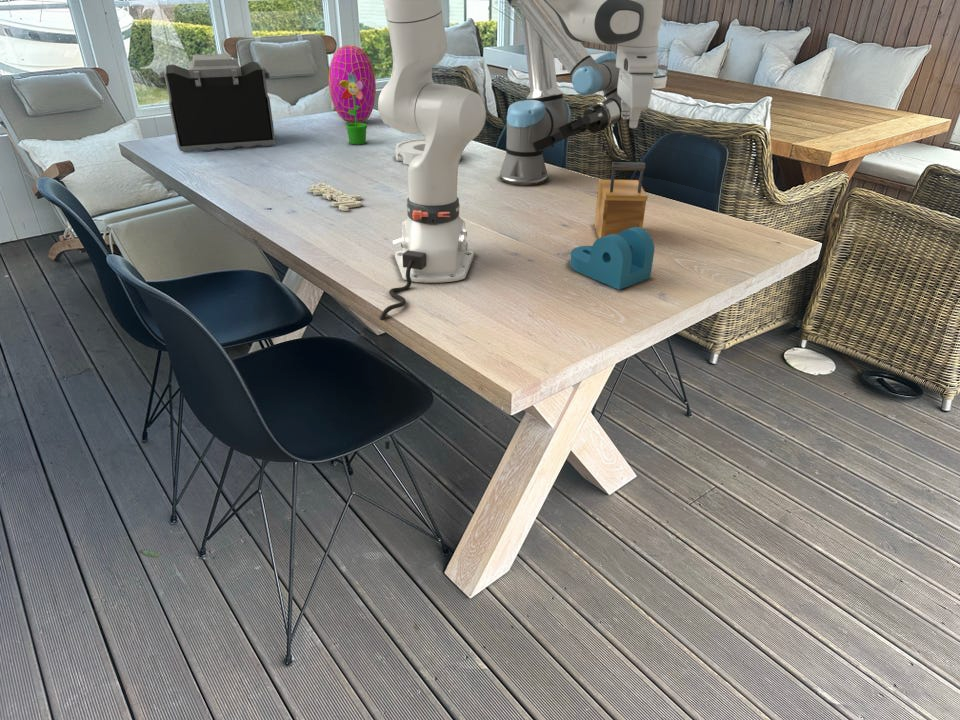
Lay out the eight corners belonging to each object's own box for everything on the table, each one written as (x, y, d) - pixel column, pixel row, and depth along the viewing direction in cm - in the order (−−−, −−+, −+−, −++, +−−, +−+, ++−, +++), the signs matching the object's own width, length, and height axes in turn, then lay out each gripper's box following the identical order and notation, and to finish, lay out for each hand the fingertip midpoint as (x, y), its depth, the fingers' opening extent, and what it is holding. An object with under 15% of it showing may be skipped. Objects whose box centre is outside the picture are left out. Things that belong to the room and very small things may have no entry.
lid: (647, 201, 167) (651, 165, 163) (605, 200, 167) (609, 165, 163) (637, 184, 179) (641, 151, 174) (598, 184, 179) (601, 150, 175)
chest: (640, 243, 173) (646, 200, 168) (600, 242, 174) (604, 199, 168) (632, 226, 184) (637, 185, 179) (594, 225, 185) (598, 184, 179)
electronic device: (273, 133, 274) (261, 51, 258) (280, 146, 256) (268, 58, 241) (174, 140, 262) (156, 54, 247) (174, 153, 244) (155, 62, 229)
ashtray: (454, 167, 232) (454, 155, 230) (388, 164, 235) (387, 152, 233) (466, 151, 252) (466, 140, 250) (404, 148, 255) (404, 137, 253)
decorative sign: (374, 202, 196) (343, 208, 191) (374, 205, 197) (343, 211, 191) (331, 180, 214) (301, 186, 209) (332, 183, 215) (302, 189, 209)
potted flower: (342, 144, 260) (336, 73, 247) (351, 139, 266) (346, 70, 254) (365, 146, 257) (360, 74, 245) (374, 141, 264) (369, 71, 251)
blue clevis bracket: (650, 277, 154) (656, 233, 149) (619, 289, 148) (624, 243, 143) (591, 254, 166) (595, 212, 161) (560, 264, 160) (563, 221, 155)
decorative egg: (362, 116, 305) (357, 42, 290) (386, 123, 292) (382, 46, 277) (324, 121, 294) (316, 45, 279) (347, 129, 281) (340, 49, 266)
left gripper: (614, 53, 163) (608, 113, 170) (630, 65, 145) (622, 132, 152) (641, 53, 163) (633, 114, 170) (660, 65, 145) (651, 133, 152)
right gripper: (632, 113, 193) (577, 138, 184) (581, 141, 215) (529, 164, 206) (622, 88, 191) (566, 112, 183) (571, 118, 214) (519, 141, 205)
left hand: (628, 123), depth 161 cm, fingers open, 8 cm apart
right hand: (546, 140), depth 194 cm, fingers open, 13 cm apart
